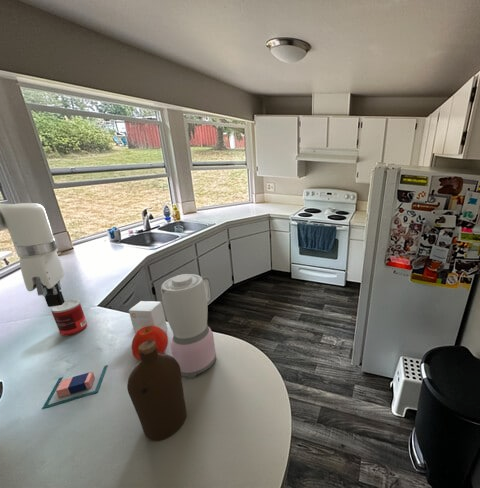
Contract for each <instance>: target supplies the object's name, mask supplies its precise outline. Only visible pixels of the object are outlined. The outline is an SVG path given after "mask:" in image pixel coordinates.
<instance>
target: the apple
mask: <svg viewBox="0 0 480 488" xmlns="http://www.w3.org/2000/svg"><path fill="white" fill-rule="evenodd" d="M146 341H154V342H155V344H156V346H157V350H158V353H159V354H165V352H166V350H167V349H168V344H169V337H168V334H167V331H166V332H165V331H163V330H162V329H161V328H159V327H156V326H153V325H152V326H146V327H143V328H141V329H140V330H138V331H137V333H136V334H135V333H134V336H133V338H132V342H131V353H132V356H133V358H134V359H135V360H137V361H139V362H140V361H141V358H140V355H139V352H140V351H139V349H138V348H139V346H140V345H141V344H142V343H144V342H146Z"/></svg>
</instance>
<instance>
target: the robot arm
mask: <svg viewBox="0 0 480 488" xmlns="http://www.w3.org/2000/svg"><path fill="white" fill-rule="evenodd" d="M4 230H7V231H8V233H9V236H10V239H11V241H12V244H13V247H14V249H15V253H16V254H17V257H18V258H19V266H20V271H21V276H22V279H23V282H24V285H25V289H26V290H27V292H33V291H35V290H36V292H37V293H36V294H37V296H42V297H44V299H45V302H46V305H47V307H49V308H52V307H53V306H59V305H62V304H63V303H64V302H65V301H66V300H65V298H64V295H63V292H62V288H61V287H62V285H61V283H60V282H61V280H62V279H63V278H64V276H65V271H64V270H65V269H64V267H63V264H62V262H61V259H60V257H59V255H58V251H59V249H58V245H57V243H56V240H55V237H54V234H53V231H52V227H51V224H50V221H49V218H48V214H47V212H46V209H45V207H44V205H42V204H40V203H34V202H20V203H3V202H2V203H1V202H0V232H1V231H4Z"/></svg>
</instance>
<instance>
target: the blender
mask: <svg viewBox="0 0 480 488" xmlns="http://www.w3.org/2000/svg"><path fill="white" fill-rule="evenodd" d="M160 293H161V299H162V306H163V311H164V315H165V319H166V321H167V322H168V325H169V327H170V329H171V331H172V334H173V335H172V338H171V342H170V351H171V355H172V357H173V358H174V359H175V360H176V361H177V362H178V364H179V366H180V369H181V376H185V377H187V379H194V378H196V375H198V374H201V373H203V372H205V371H206V370H208V369H209V368H211V367H212V366H213V364H214V363H215V361H217V353H216V346H215V345H216V344H215V337H214V333H213V330H212V329H211V327H210V326H209V325H208V314H209V312H208V309H209V308H208V306H209V305H208V304H209V303H210V302H211V300H212V297H213V296H212V287H211V281H210V278H209V277H208V276H205V275H203V276H201V275H198V274H195V273H181V274H177V275H175V276H172V277H170V278H168V279H166V280H165V281H164V282H163V283H162V284H161V286H160Z"/></svg>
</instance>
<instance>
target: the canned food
mask: <svg viewBox="0 0 480 488" xmlns="http://www.w3.org/2000/svg"><path fill="white" fill-rule="evenodd" d="M64 301H65V302H64V303H63V304H62V305H59V306H53V307H50V311H51V314H52V317H53V320H54V322H55V324H56V326H57V329H58V331H59V333H60V335H62V336H65V337H66V336H73V335H76V334H78V333H80V332H82V331H84V330H85V329H86V328H87V326H88V322H87V319H86V316H85V314H84V310H83V306H82V304H81V302H80V300H79V299H67V300H64Z"/></svg>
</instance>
